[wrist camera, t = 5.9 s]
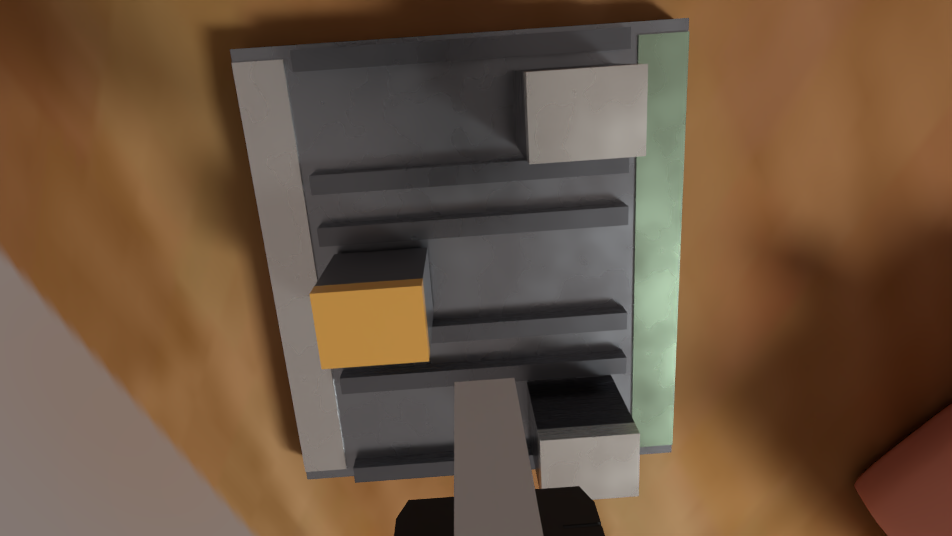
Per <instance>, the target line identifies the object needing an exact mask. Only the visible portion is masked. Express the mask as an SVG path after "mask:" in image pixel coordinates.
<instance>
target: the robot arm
mask: <svg viewBox="0 0 952 536" xmlns="http://www.w3.org/2000/svg"><path fill="white" fill-rule="evenodd" d="M394 536H605V535H604V531H603V528H602V526H601V522H600V518H599V515H598V512H597V509H596V506H595V502H594V501H593V500H592V499H591V498H590V497H589V496H588V495H587V494H586V493H585V492H584V491H583V490H582V489H581V487H580V486H572V487H559V488H545V489H535V487H534V482H533V476H532V471H531V465H530V460H529V455H528V449H527V444H526V438H525V433H524V427H523V422H522V416H521V411H520V405H519V400H518V395H517V389H516V384H515V378H505V379H491V380H477V381H463V382H454V497H445V498H431V499H418V500H408V502H407V503H406V505H405V506H404V508H403V509H402V511H401V512H400V514H399V515H398V517H397V518H396V525H395V533H394Z"/></svg>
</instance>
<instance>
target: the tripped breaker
mask: <svg viewBox="0 0 952 536" xmlns="http://www.w3.org/2000/svg"><path fill="white" fill-rule="evenodd" d="M309 295H310V301H311V307H312V313H313V319H314V326H315V332H316V338H317V344H318V350H319V357H320V363H321V369H333V368H347V367H360V366H374V365H388V364H401V363H415V362H429V357H430V346H431V335H432V323H433V301H432V291H431V280H430V269H429V259H428V248H413V249H399V250H385V251H371V252H358V253H344V254H334V256H333V257H332V259H331V260H330V262H329V264H328V265H327V267H326V268H325V270H324V271H323V273H322V275H321V276H320V278H319V279H318V281H317V283H316V284H315V286H314V287H313V289H312V291H311V292H310V294H309Z"/></svg>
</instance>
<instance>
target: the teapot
mask: <svg viewBox="0 0 952 536" xmlns="http://www.w3.org/2000/svg"><path fill="white" fill-rule="evenodd" d="M854 487H855V489H856V490H857V492H858V494H859V496H860V497H861V499H862V501H863V502H864V504H865V506H866V507H867V509H868V510H869V512H870V513H871V515H872V516H873V518H874V519H875V521H876V522H877V523H878V524H879V526H880V527H881V528H882V529H883V531H884V532H885V533H886V534H887V536H952V403H951V404H950V405H948V406H947V407H946V408H944V409H943V410H942V411H940V412H939V413H938V414H936V415H935V416H934V417H932V418H931V419H930V420H929V421H927V422H926V423H925V424H923V425H922V426H921V427H919V428H918V429H917V430H916V431H914V432H913V433H912V434H910V435H909V436H908V437H907V438H905V439H904V440H903V441H901V442H900V443H899V444H898V445H896V446H895V447H894V448H892V449H891V450H890V451H889V452H887V453H886V454H885V455H884V456H882V457H881V458H880V459H879V460H878V461H876V462H875V463H874V464H873V465H872V466H870V467H869V468H868V469H867V470H866V471H865V472H864V473H863V474H862V475H861V476H860V477H859V478H858V479H857V481H856V482H855V485H854Z"/></svg>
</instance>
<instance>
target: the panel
mask: <svg viewBox="0 0 952 536" xmlns="http://www.w3.org/2000/svg"><path fill="white" fill-rule="evenodd" d="M688 29H689V18H682V19H667V20H653V21H638V22H623V23H609V24H594V25H580V26H565V27H550V28H536V29H521V30H507V31H492V32H477V33H463V34H448V35H434V36H419V37H404V38H390V39H375V40H361V41H346V42H332V43H317V44H302V45H288V46H273V47H259V48H244V49H230V53H231V59H232V63H231V64H232V69H233V75H234V80H235V86H236V91H237V97H238V102H239V108H240V113H241V119H242V124H243V130H244V135H245V141H246V146H247V152H248V157H249V163H250V168H251V174H252V179H253V185H254V190H255V196H256V202H257V207H258V213H259V218H260V224H261V229H262V235H263V240H264V246H265V251H266V257H267V262H268V268H269V273H270V279H271V284H272V290H273V295H274V301H275V306H276V312H277V317H278V323H279V328H280V334H281V339H282V345H283V350H284V356H285V361H286V367H287V373H288V378H289V384H290V389H291V395H292V400H293V406H294V411H295V417H296V422H297V428H298V433H299V439H300V444H301V450H302V455H303V461H304V466H305V472H306V473H307V479H319V478H332V477H346V476H354V477H355V483H357V482H370V481H384V480H397V479H410V478H424V477H437V476H450V475H454V382H463V381H477V380H491V379H505V378H515V384H516V389H517V395H518V400H519V405H520V411H521V416H522V422H523V427H524V433H525V438H526V444H527V449H528V455H529V460H530V465H531V469H536V474H537V479H538V484H539V489H545V488H559V487H572V486H580V487H581V489H582V490H583V491H584V492H585V493H586V494H587V495H588V496H589V497H590V498H591V499H592V500H593V499H606V498H619V497H633V496H639V458H640V454H653V453H666V452H671V445H672V439H673V415H674V390H675V366H676V342H677V318H678V293H679V269H680V245H681V221H682V197H683V172H684V148H685V124H686V100H687V75H688V51H689V32H688ZM413 248H428V259H429V269H430V280H431V291H432V301H433V323H432V335H431V346H430V357H429V362H415V363H401V364H388V365H374V366H360V367H347V368H333V369H321V363H320V357H319V350H318V344H317V338H316V332H315V326H314V319H313V313H312V307H311V301H310V295H309V294H310V292H311V291H312V289H313V287H314V286H315V284H316V283H317V281H318V279H319V278H320V276H321V275H322V273H323V271H324V270H325V268H326V267H327V265H328V264H329V262H330V260H331V259H332V257H333V256H334V254H344V253H358V252H371V251H385V250H399V249H413Z"/></svg>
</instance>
